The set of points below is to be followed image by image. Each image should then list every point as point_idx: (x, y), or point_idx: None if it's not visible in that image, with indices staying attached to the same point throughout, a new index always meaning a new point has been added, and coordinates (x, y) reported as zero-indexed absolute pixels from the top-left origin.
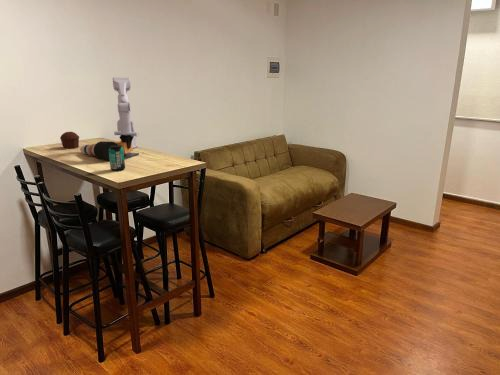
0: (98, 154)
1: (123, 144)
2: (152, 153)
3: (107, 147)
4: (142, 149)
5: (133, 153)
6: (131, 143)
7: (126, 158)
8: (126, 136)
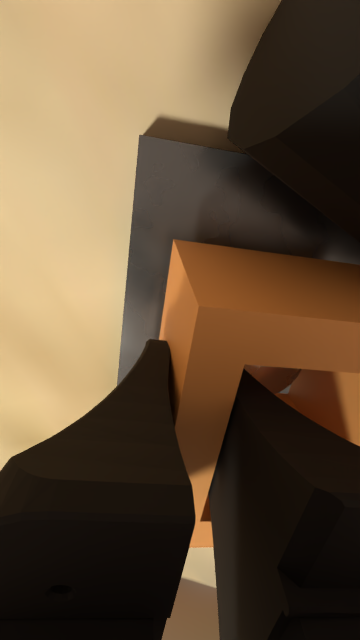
0: None
1: (210, 293)
2: None
3: None
4: (187, 566)
5: None
6: None
7: (135, 188)
8: (150, 582)
